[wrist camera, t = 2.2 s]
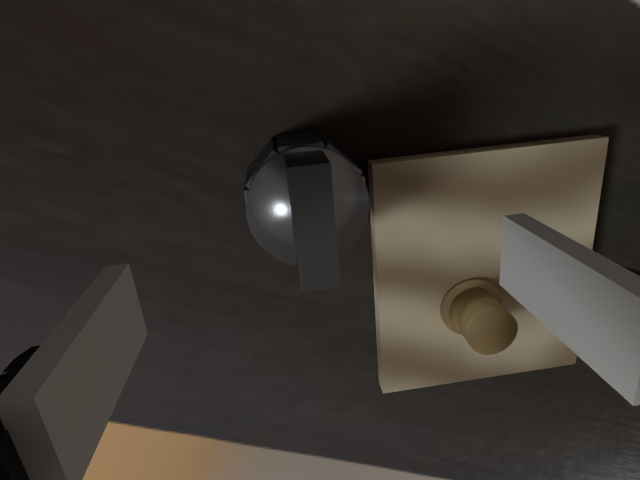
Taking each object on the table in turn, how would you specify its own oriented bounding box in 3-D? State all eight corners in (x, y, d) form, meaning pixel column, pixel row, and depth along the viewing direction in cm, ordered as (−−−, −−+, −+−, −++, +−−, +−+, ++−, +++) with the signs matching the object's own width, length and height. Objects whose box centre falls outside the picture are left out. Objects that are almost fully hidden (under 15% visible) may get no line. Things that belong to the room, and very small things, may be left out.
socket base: (367, 160, 26) (386, 178, 22) (594, 134, 27) (653, 146, 23) (378, 382, 32) (395, 428, 28) (564, 353, 33) (607, 394, 29)
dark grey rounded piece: (241, 138, 25) (231, 169, 18) (348, 127, 25) (381, 151, 18) (257, 239, 27) (254, 302, 20) (354, 226, 27) (387, 284, 20)
